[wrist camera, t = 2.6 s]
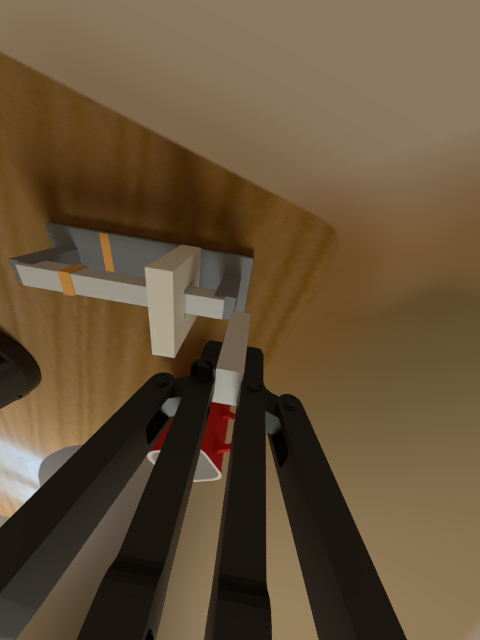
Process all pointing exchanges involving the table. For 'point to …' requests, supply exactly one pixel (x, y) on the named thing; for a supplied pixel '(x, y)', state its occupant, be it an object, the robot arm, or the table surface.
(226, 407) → the mug
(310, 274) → the table surface
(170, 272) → the thick cream end plate
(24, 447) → the table surface
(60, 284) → the grey slide rail
